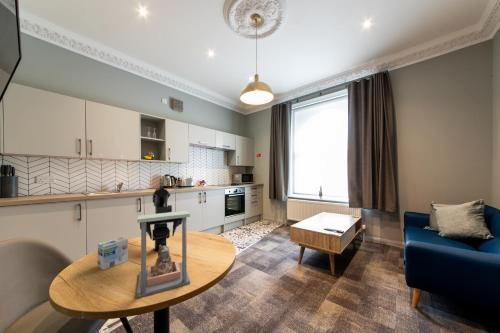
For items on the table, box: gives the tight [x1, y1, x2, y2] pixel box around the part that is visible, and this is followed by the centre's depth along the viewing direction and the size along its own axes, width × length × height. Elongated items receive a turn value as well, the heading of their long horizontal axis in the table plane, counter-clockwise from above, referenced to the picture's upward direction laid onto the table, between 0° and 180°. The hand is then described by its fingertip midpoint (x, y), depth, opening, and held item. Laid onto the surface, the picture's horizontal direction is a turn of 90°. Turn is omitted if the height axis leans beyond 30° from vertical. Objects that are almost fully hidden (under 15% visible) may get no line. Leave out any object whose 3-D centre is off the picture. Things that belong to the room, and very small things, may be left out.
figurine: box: [154, 245, 173, 277], centre depth 78 cm, size 7×7×12 cm
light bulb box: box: [97, 237, 129, 271], centre depth 91 cm, size 11×7×11 cm, turn 148°
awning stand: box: [136, 210, 191, 299], centre depth 78 cm, size 18×18×27 cm
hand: (162, 237), depth 87 cm, fingers open, 9 cm apart
